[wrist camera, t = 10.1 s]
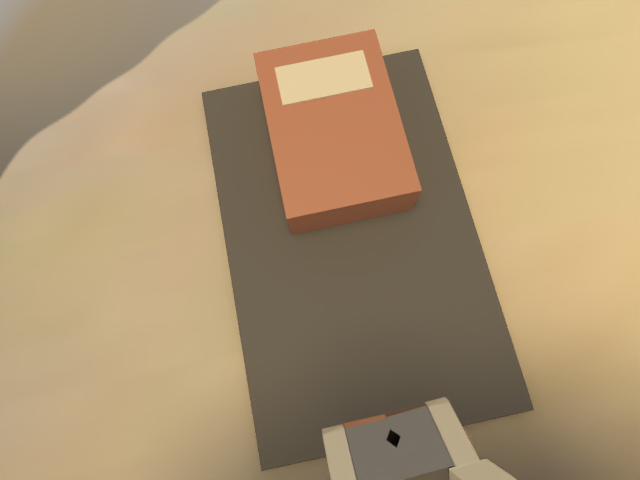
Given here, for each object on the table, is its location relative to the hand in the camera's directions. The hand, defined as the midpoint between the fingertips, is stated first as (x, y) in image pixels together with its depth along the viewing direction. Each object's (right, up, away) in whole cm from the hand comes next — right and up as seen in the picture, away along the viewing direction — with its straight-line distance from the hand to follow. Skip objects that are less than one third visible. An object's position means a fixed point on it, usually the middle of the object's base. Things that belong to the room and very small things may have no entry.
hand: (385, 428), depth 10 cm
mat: (0, +5, +15) cm, 16 cm away
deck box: (0, +6, +13) cm, 14 cm away
